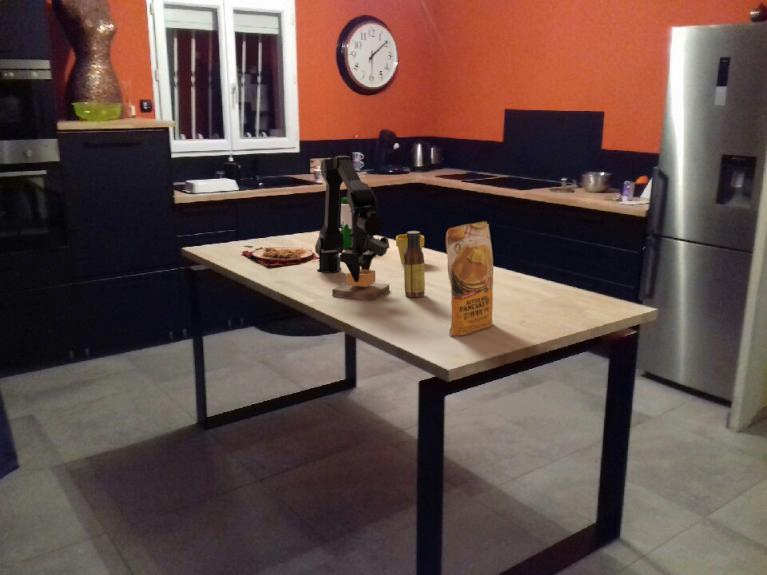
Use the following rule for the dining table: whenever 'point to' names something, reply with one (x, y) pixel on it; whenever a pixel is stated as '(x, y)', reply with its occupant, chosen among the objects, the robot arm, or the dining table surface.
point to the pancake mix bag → (470, 277)
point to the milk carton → (346, 223)
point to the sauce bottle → (414, 267)
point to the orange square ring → (362, 278)
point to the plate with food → (281, 255)
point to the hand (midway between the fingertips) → (361, 279)
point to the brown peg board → (361, 291)
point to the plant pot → (405, 244)
